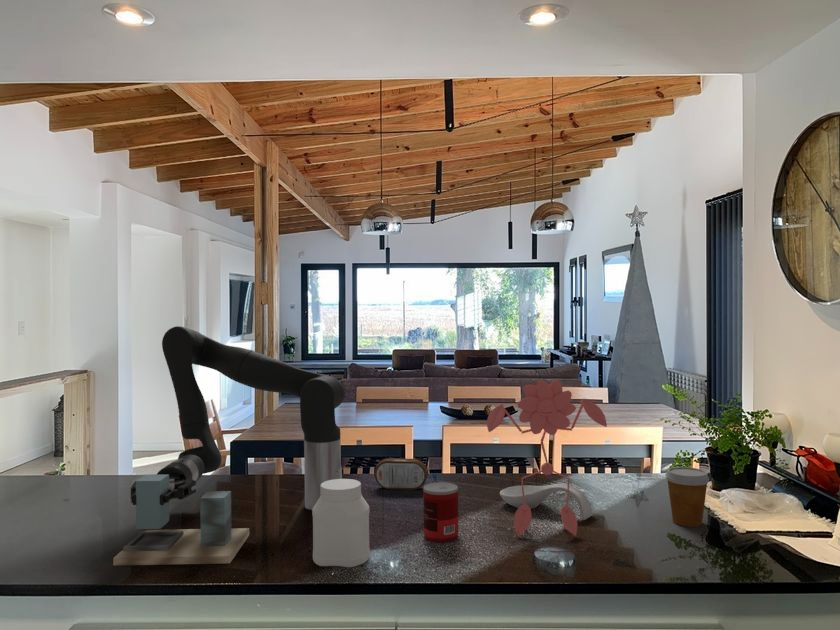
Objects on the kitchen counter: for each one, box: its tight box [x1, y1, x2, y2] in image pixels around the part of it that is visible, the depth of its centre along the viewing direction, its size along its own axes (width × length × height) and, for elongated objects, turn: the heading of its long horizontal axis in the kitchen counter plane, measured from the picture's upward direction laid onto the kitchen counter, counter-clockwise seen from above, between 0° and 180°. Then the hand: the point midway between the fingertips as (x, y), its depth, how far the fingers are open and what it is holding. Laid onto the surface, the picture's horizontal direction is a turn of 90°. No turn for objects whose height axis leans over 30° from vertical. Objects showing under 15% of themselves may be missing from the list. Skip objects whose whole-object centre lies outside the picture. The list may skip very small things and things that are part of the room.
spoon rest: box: [499, 482, 593, 521], centre depth 159 cm, size 24×12×7 cm, turn 53°
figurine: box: [486, 378, 608, 554], centre depth 138 cm, size 15×26×35 cm, turn 85°
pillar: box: [135, 474, 170, 530], centre depth 134 cm, size 5×5×10 cm
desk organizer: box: [112, 490, 250, 566], centre depth 134 cm, size 23×16×12 cm
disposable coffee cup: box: [664, 466, 710, 528], centre depth 148 cm, size 10×10×12 cm
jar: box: [311, 478, 371, 568], centre depth 129 cm, size 12×10×15 cm
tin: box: [374, 457, 429, 491], centre depth 178 cm, size 15×3×8 cm, turn 84°
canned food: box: [422, 481, 459, 543], centre depth 140 cm, size 8×8×11 cm
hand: (148, 500), depth 131 cm, fingers closed on pillar, 5 cm apart
